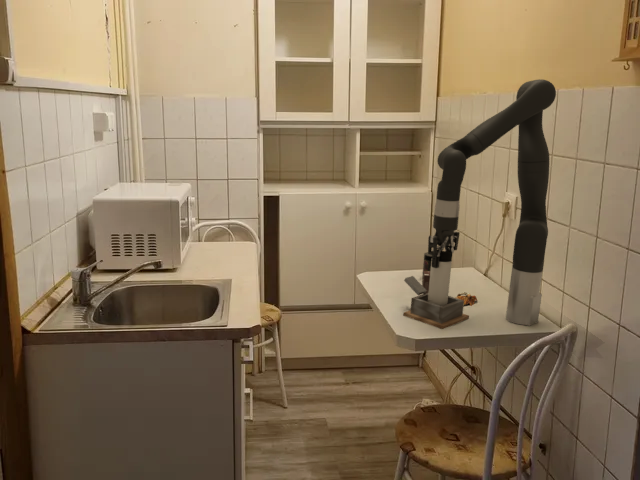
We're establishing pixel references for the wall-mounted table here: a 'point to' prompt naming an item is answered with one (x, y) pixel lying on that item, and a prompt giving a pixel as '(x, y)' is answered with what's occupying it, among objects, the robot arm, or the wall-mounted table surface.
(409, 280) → the grey rectangular block
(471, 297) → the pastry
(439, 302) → the travel mug
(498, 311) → the wall-mounted table surface
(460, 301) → the grey walled square tray
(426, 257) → the supplement container
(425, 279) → the box
